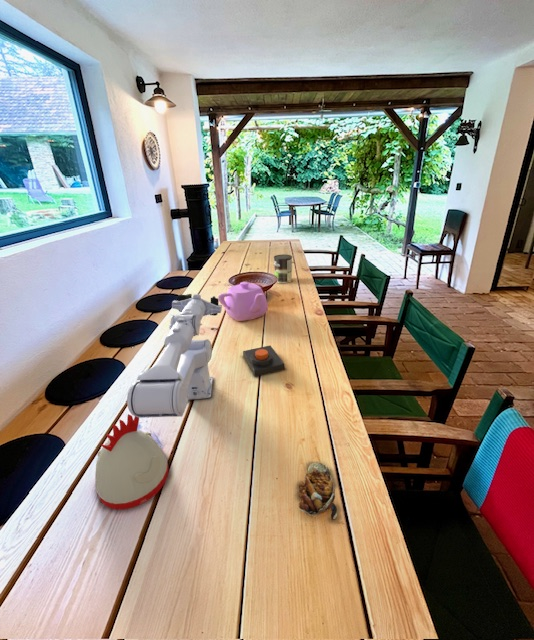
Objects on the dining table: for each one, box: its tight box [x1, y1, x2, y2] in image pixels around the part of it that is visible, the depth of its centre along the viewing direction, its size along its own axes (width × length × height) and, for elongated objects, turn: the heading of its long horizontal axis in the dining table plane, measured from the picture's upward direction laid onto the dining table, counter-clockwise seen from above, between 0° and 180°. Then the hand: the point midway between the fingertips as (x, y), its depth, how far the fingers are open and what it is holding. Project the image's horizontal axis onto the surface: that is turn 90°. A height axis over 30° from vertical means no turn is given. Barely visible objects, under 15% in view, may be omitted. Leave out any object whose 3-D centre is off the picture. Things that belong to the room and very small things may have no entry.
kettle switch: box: [242, 345, 286, 377], centre depth 105 cm, size 13×10×4 cm
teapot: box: [217, 281, 269, 322], centre depth 136 cm, size 23×21×15 cm
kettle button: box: [255, 349, 268, 360], centre depth 102 cm, size 4×4×2 cm
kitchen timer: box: [94, 414, 170, 511], centre depth 64 cm, size 14×14×15 cm
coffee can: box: [273, 254, 293, 284], centre depth 183 cm, size 10×10×14 cm
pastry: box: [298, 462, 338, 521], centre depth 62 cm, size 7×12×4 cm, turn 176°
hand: (202, 298), depth 104 cm, fingers open, 7 cm apart
